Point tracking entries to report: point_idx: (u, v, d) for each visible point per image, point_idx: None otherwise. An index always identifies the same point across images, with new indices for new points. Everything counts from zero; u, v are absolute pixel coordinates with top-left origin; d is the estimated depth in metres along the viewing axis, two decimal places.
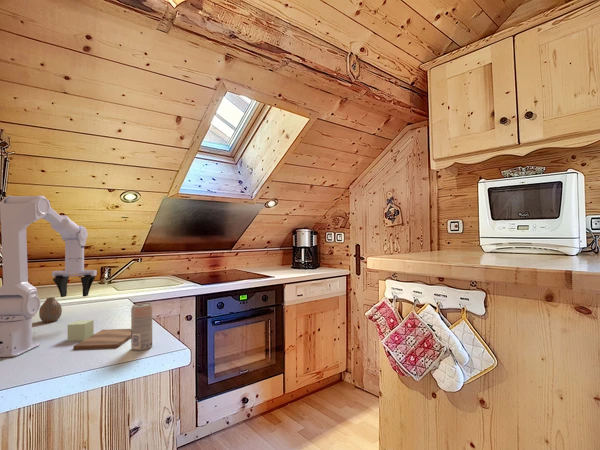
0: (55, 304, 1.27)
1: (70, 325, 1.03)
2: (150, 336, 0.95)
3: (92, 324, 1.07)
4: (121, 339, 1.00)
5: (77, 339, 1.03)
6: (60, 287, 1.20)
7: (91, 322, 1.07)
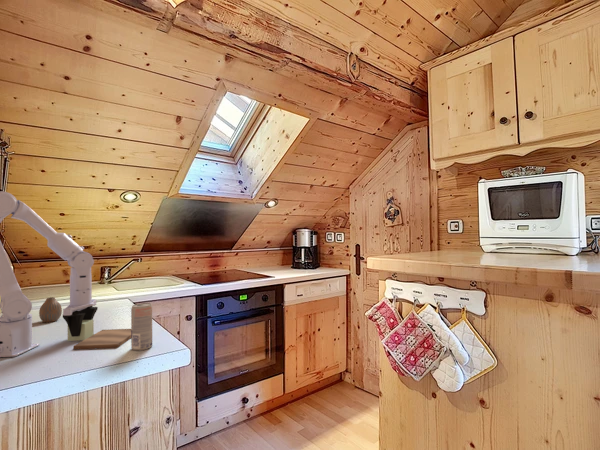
0: (55, 304, 1.27)
1: None
2: (150, 336, 0.95)
3: (92, 324, 1.07)
4: (121, 339, 1.00)
5: (77, 339, 1.03)
6: None
7: (91, 322, 1.07)
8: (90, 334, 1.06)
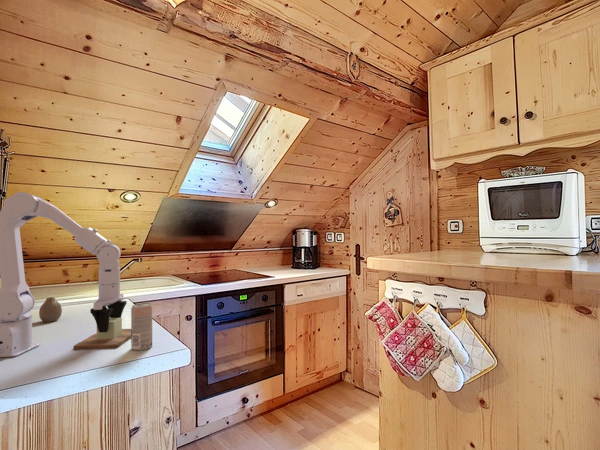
0: (55, 304, 1.27)
1: None
2: (150, 336, 0.95)
3: (120, 322, 1.05)
4: (121, 339, 1.00)
5: (106, 337, 1.00)
6: None
7: (119, 320, 1.05)
8: (119, 332, 1.04)
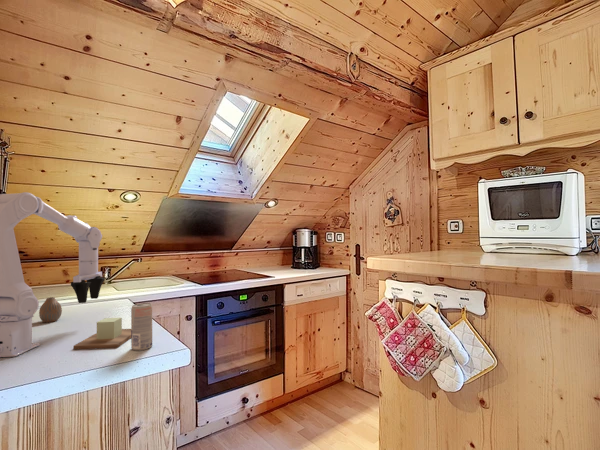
0: (55, 304, 1.27)
1: (99, 323, 1.00)
2: (150, 336, 0.95)
3: (120, 322, 1.05)
4: (121, 339, 1.00)
5: (106, 337, 1.00)
6: (89, 288, 1.21)
7: (119, 320, 1.05)
8: (119, 332, 1.04)
